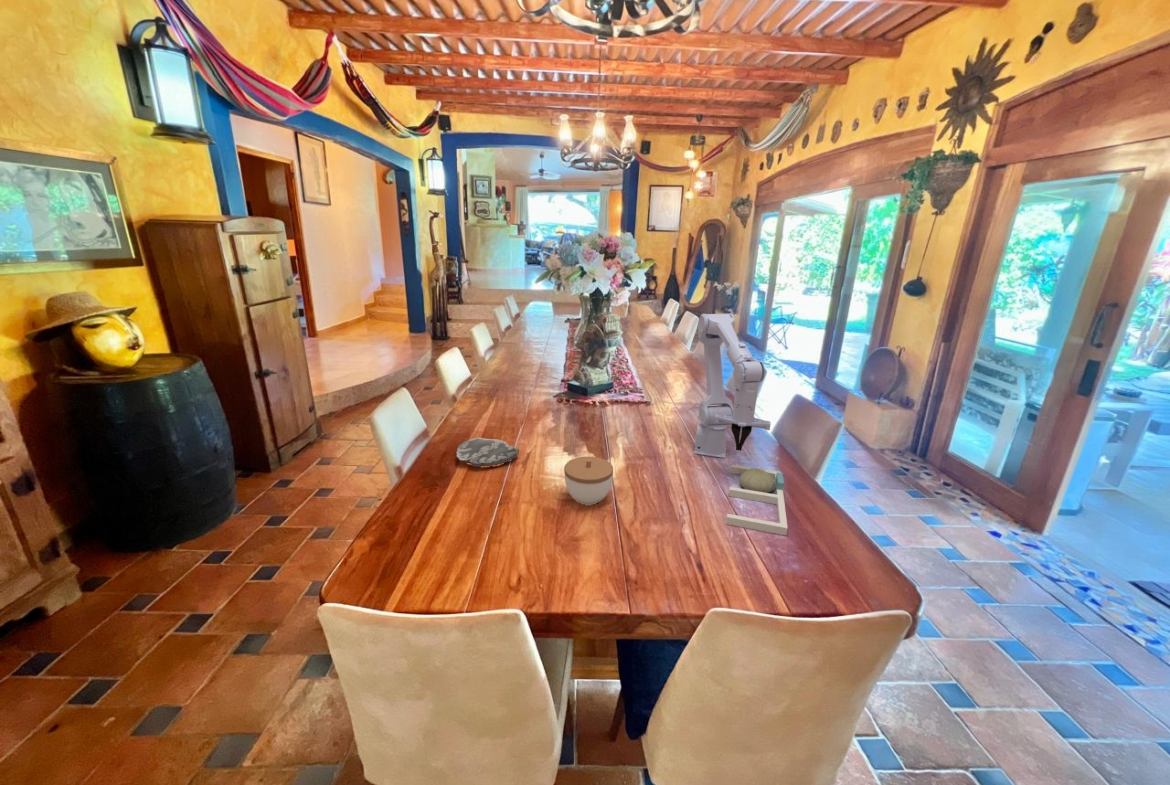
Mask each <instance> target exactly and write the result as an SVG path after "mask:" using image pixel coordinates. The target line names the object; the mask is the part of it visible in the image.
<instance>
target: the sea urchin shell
mask: <svg viewBox="0 0 1170 785" xmlns="http://www.w3.org/2000/svg"><path fill="white" fill-rule="evenodd" d="M750 468H751V469H748V470H746V471H745V472H743V474H742V475H740V477H739V484H740V486H741V487H742V488H743V489H746V490H752V491H758V492H764V493H771V492H773V491H774V490H775V483H774V480H773V478H772V477H771V476H770V475H769V474H768V473H767V472H766V471H764V470H765V469H763V470H761V468H756V469H754V467H750Z"/></svg>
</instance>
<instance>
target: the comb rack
mask: <svg viewBox="0 0 1170 785" xmlns="http://www.w3.org/2000/svg"><path fill="white" fill-rule="evenodd" d="M751 468H752V467H749V466H748V467H747V466H742V465H736V464H731V467H730V474H735V475H740V476H741V475H742V474H743V472H745V471H746V470H748V469H751ZM753 468H754V467H753ZM754 469H757V468H756V467H755V468H754ZM760 469H761V468H760ZM761 470H764V471H766V472H767V473H768V474H769V475H770V476H771V477H772V478H773V480H774V483H775V487H774V491H775V493H771V492H769V493H764V492H758V491H752V490H747V489H745V488H738V487H734V486H729V488H728V489H729V490H728V497H732V498H738V499H743V500H748V501H754V502H761V503H767V504H770V505H771V504H772V505H776V509H777V510H776V512H777V522H775V521H769V520H764V519H759V518H754V517H753V518H752V517H747V516H742V515H736V514H731V513H726V522H725V525H728V526H729V525H730V526H733V527H740V528H743V529H750V530H755V531H761V532H764V533H765V532H766V533H770V534H775V535H776V534H777V535H781V536H787V534H788V529H789V528H788V520H787V513H786V504H785V496H784V486H785V481H784V474H783V472H781V471H777V470H776V471H775V470H768V469H761Z"/></svg>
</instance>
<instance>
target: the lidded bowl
mask: <svg viewBox="0 0 1170 785" xmlns="http://www.w3.org/2000/svg"><path fill="white" fill-rule="evenodd" d="M563 472H564V482H565V486H566V487H565V488H566V490H567V492H568V494H569V495H570V496H571V498H572V499H573V500H575V501H576V500H577V501H578V502H580V503H581V504H580V505H582V504H587V505H586V506H592V505H591V504H595V505H597V504H596V503H598V502H599V503H601V501H602V500H604V499H605V498H606V497H607V495H608V494H609V492H610V490H611V487H612V485H613V484H612V482H613V475H614V474H613V473H614V466H613V464H612V463H611V462H609V461H608V460H606V459H604V458H601V457H597V456H580V457H575V458H573V459H571V460H569V461H567V462H566V463H565V465H564V469H563ZM578 502H577V503H578ZM599 503H598V504H599Z"/></svg>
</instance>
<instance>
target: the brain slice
mask: <svg viewBox="0 0 1170 785" xmlns="http://www.w3.org/2000/svg"><path fill="white" fill-rule="evenodd" d="M519 453H520V449H519V448H518V447H514V446H511V445H510V444H508V443H507V442H506V441H505V440H501V439H499V438H498V439H497V438H484V437H474V438H471V439H468V440H466V441H463V442H462V443H460V444H458V447H457V448H456V458H458V460H459V461H462V462H464V463H465V462H466V463H471V464H472V467H474V466H475V467H474V468H476V467H481V466H490V465H491V466H492V465H498V464H502V463H505V462H506V463H509V462H508V461H510V460H512V459H513V458H514V459H516V457H517V456H518V455H519ZM514 459H513V460H514ZM513 460H512V461H513ZM510 462H511V461H510ZM466 463H465V464H466ZM506 463H505V464H506Z"/></svg>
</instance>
